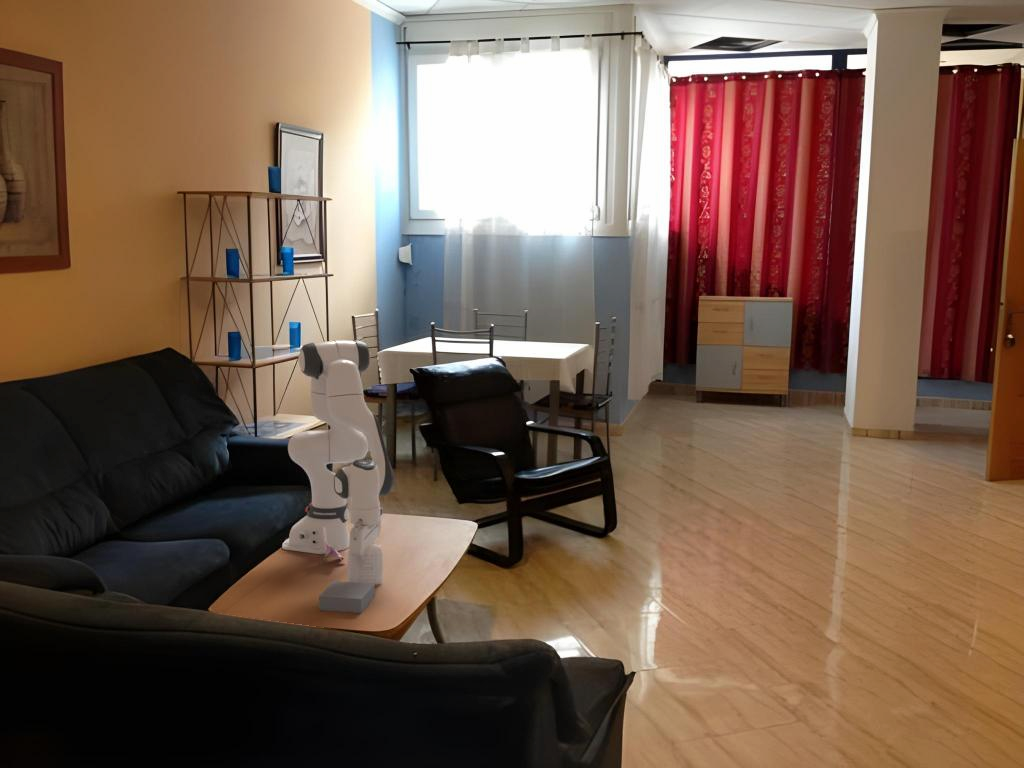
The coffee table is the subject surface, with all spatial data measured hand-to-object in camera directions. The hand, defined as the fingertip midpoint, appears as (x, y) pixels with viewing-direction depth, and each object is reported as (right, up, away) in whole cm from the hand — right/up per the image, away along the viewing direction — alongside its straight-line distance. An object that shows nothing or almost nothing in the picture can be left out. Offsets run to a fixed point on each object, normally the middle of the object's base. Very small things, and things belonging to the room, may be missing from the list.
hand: (365, 560), depth 270 cm
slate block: (-3, -9, -15) cm, 18 cm away
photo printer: (0, -7, +1) cm, 7 cm away
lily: (-15, -5, +16) cm, 23 cm away
